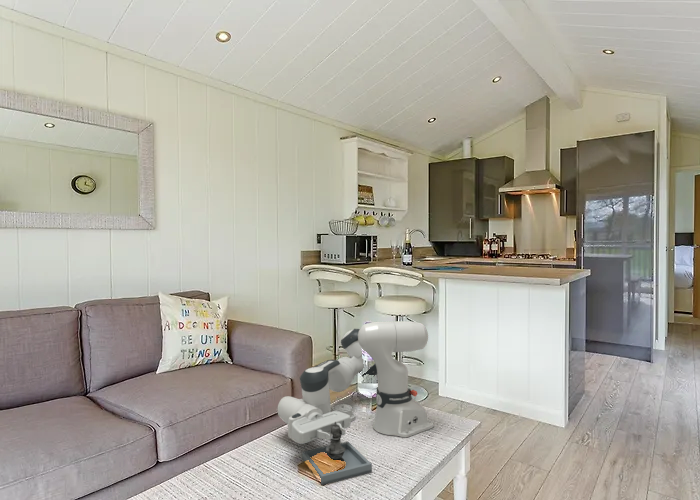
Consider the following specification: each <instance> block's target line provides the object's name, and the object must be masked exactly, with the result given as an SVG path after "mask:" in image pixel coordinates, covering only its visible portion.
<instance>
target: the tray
mask: <svg viewBox="0 0 700 500" xmlns="http://www.w3.org/2000/svg"><path fill="white" fill-rule="evenodd" d="M340 444H341V446H343V447H344V448H345V451H344V454H343V456H342V458H343V459H344V461H345V462H346V466H345V468H344V469H342V470H338V471H334V472H330V473H326V474H323V472H322V471H321V470H320V469H319V468H318V466H317V465H316V464H315V463H314V461H313V460H312V459H311V458H310V457H312V456H314V455H316V454H317V453H320V452H325V453H327V451H326V448H327V447H328V446H329V445H326V446H322V447H317V448H313V449H309V450H304V451H301V455H302V456H301V460H302V461H303V462H304V461H306V460H309V462H310V463H311V464H312V466H313V467H314V468H315V470H316V471H317V473H318V474H319V476H320V478H321V484H322V485H321V484H320V485H321V486H324V485H328V484H331V483H332V484H333V483H336V482H340V481H343V480H348V479H351V478H355V477H359V476H362V475H365V474H366V475H367V474H371V473H373V470H372V469H373V465H372V463H371V461H369V460H368V459H367V458H366V457H365V456H364V455H363V454H362V453H361V452H360V451H359V450H358V449H357V448H355V446H354V445H352V443H351V442H349V441H344V442H340Z"/></svg>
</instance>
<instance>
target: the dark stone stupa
mask: <svg viewBox="0 0 700 500" xmlns="http://www.w3.org/2000/svg"><path fill="white" fill-rule="evenodd" d="M331 433H332V434H333V439H331V440H330V443H329V445H327V446H328V447H327V448H326V451H327V455H328V456H329V457H330V458H331V459H333V460H341V461H344V459H343V458H342V456H343V454H344V451H345V448H344V447H343V446H341V444H340V443H341V439H342V436H341V435H340V426H339V425H337V424H336V422H335V424H334V425H332V426H331Z"/></svg>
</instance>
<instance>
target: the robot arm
mask: <svg viewBox="0 0 700 500" xmlns="http://www.w3.org/2000/svg"><path fill="white" fill-rule="evenodd" d="M428 342H429V333H428V330H427V328H426V325H424V324H423V323H422V322H418V321H411V320H402V321H401V320H399V321H396V320H392V321H372V322H367V323H363V324H362V325H361V326H360V327H359V328H353V329H350V330H348V331H346V333H344V335H343V336H342V338H341V340H340V345H341V347H342V348H343V350H344V351H346V353H347V355H348V356H342V357H340V358H338V359H328V360H325V361H323V362H320V363H318V364H317V365H315V366H313V367H309V368H306V369H305V370H304V371H303V372H302V373H301V374H300V376H299V382H300V388H301V395H302V398H296V397H294V396H289V395H287V396H284V397H281V399H280V400H279V402H278V404H277V416H278V417H279V418H280V419H281V420H282V421H283V422H284V423H285V424H287V433H288V434H287V436H288V438H289V439H291V440H292V441H294V442H295V443H297V444H300V445H305V444H307V443H309V442H313V441H315V440H317V439H320V440H326V441H331V439H333V434H332V433H331V426H332V425H334V424H335V422H336V424H337V425H339V426H340V435H341V437H342V436H344V435H346V429H349V428H350V427H351V423H352V421H351V418H350V415H348V414H345V413H342V412H339V411H333V410H332V403H331V395H330V391H332V392H335V393H340V392H344V391H346V390H347V389H348V388H349V387H350V386H351V385H352V383H353V381H354V379H355V377H356V376H357V375H358V374H361V373H360V372H361V371H362V369H363V368H364V364H363V359H362V351H361V348H362V349H363V350H364V351H366V352H367V353H368V354H369V355H370V356H371V357H372V358H373V360H374V362H375V363H374V365H373V366H371V367H370V369H369V370H368V371H367V372H366V373H364V374H363V375H362V377H365V376H364V375H366V374H369V375H374V376H373V377H376V376H377V387H376V391H375V392H376V396H375V397H376V411H375V418H374V421H373V425H372V428H373V429H374V430H375V432H378V433H380V434H383V435H388V436H398V437H401V438H409V437H411V436H414V435H417V434H420V433H423V432H425V431H428V430H430V429H434V427H435V426H434V425H435V424H434V423H433V420H432V419H430V418H428V412H427V411H426V409H425V407H424V406H423V405H422V404H420V403H419V402H418V401H416V400H415V398H416V397H417V395H418V394H419V393H418V391H417V390H415V389H412V388H409V371H408V367H407V366H406V364H404V363H403V362H402V361H399V360H398V359H395V358H394V357H393V353H405V352H406V353H407V352H415V351H418V350H423V349H424V348H425V347H426V346H427V344H428ZM375 375H376V376H375ZM413 397H415V398H413Z"/></svg>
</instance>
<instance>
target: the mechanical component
mask: <svg viewBox="0 0 700 500" xmlns="http://www.w3.org/2000/svg"><path fill="white" fill-rule="evenodd" d="M332 411H339V412H342V413H345V414H348V415H350V418H351V422H353V421H354V420H355V419H356V413H355V412H354V411H353V407H352V406H351V405H349V404H346V403H341V404H336V405H334V406H333V407H332Z"/></svg>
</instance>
